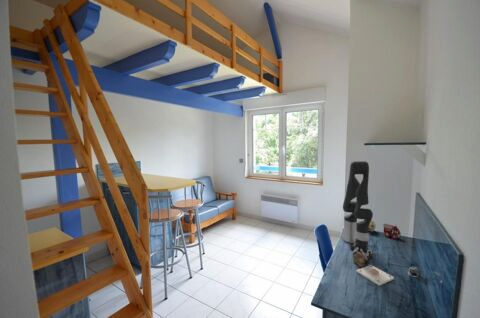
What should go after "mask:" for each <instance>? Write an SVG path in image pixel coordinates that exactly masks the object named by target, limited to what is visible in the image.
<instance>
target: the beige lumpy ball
mask: <svg viewBox="0 0 480 318" xmlns="http://www.w3.org/2000/svg"><path fill="white" fill-rule="evenodd" d="M374 230H376V224H375V222H374V220H373V219H372V220H371V222H370V225H369V232H373V233H374Z"/></svg>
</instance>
